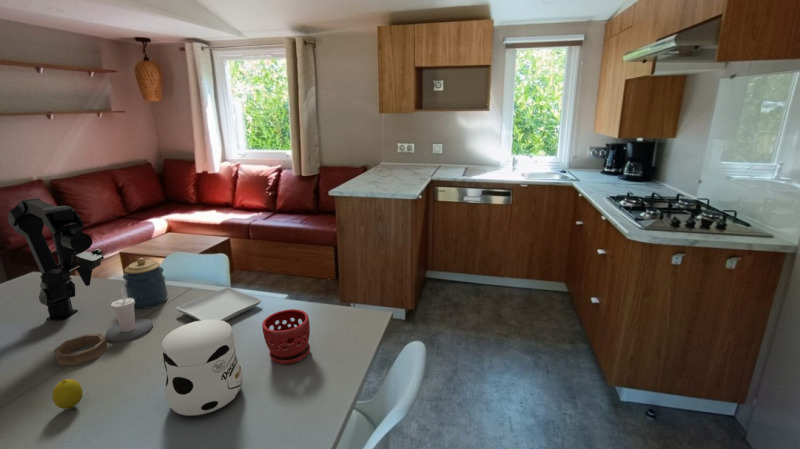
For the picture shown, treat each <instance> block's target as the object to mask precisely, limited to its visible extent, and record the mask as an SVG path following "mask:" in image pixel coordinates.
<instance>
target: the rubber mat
mask: <svg viewBox="0 0 800 449" xmlns="http://www.w3.org/2000/svg"><path fill="white" fill-rule="evenodd" d="M153 327H154V326H153V322H152V320H151V319H148V318H135V328H134V329H133V330H131V331H128V332H123V331H122V330H121V328H120V325H119V323H117V324H115V325H113V326H111V327H109V329H107V331H105V334H104V338H105V339H106V341H108V342H111V343H123V342H129V341H133V340H136V339H138V338H141V337H143V336H145V335H146V334H148V333H149V332H151V330H152V329H153Z"/></svg>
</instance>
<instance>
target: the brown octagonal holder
mask: <svg viewBox="0 0 800 449" xmlns="http://www.w3.org/2000/svg"><path fill="white" fill-rule="evenodd" d="M89 345H91V346H92V345H94V346H93V347H91V348H89V349H85V350H83V351H80V352H77V353H70V352H71V351H73V350H75V349H79V348H81V347H84V346H89ZM108 349H109V347H108V344H107V340H106V337H105V335H104V336H103V333H91V334H90V333H89V334H83V335H80V336H76V337H74V338H71V339H67V340H65V341H64V342H62V343H61V344H60V345H59V346H57V347H55V349H53V353H54V356H55V360H56V361H57V363H58V364H59V367H61V366H63V367H64V366H79V365H80V364H83V363H86V362H88V361H91V360H94V359H97V358H99V357H100V355H102V354H103V353H104V352H106V350H108Z"/></svg>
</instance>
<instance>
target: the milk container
mask: <svg viewBox="0 0 800 449" xmlns="http://www.w3.org/2000/svg"><path fill="white" fill-rule="evenodd" d="M161 347H162V348H161V350H162V357H163V364H164V368H165V373H166V381H165V388H164V391H165V398H166V401H167V404H168V405H169V407H170V409H171V410H172V411H173V412H175V413H176V414H178V415H180V416H184V417H199V416H200V417H201V416H205V415H207V414H211V413H215V412H216V411H218V410H220V409H223V408H225V407H226V406H227V405H228V404H230V403H232V402H233V401H234V400H235V399H236V397H237V396H238V395H239V394H240V391H241V389H242V387H243V381H244V380H243V378H244V376H243V375H244V374H243V369H242V365H241V364H240V361H239V360H238V357H237V353H236V343H235V336H234V332H233V328H232V327H231V325H230V323H229V322H226V321H221V320H216V319H215V320H201V321H199V320H195V321H192V322H189V323H185V324H183V325H180V326H179V327H176V328H175V329H173V330H172V331H170V332H169V333H167V335H165V337H164V338H163V340H162V341H161Z"/></svg>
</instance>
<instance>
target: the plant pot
mask: <svg viewBox="0 0 800 449" xmlns="http://www.w3.org/2000/svg"><path fill="white" fill-rule="evenodd" d="M309 318H310V317H309V315H308V313H307V312H306V311H304V310H301V309H294V308H293V309H291V308H290V309H284V310H280V311H276V312H274V313H272V314H269V316H267V317H266V318H265V319H264V320H263V322H262V324H261V325H262V326H261V327H262V334H263V338H264V339H263V340H264V341H265V344H266V346H267V348H268V350H269V357H270V359H271V360H272V361H273V362H274V363H276V364H280V365H288V364H290V365H291V364H294V363H295V364H296V363H297V362H299V361H302V360H303V359H304V358H306V356H308V354H309V352H310V350H311V344H310V343H309V339H310V334H311V333H310V332H311V330H310V328H311V326H310V319H309ZM292 319H294V320H292ZM299 320H301V322H302V323H301V324H300V323H299ZM277 321H278V323H276V322H277ZM284 321H286V322H285V323H283V322H284ZM289 325H290V326H289ZM295 325H296V327H295ZM271 326H272V327H273V329H270V328H271ZM279 327H280V328H279Z"/></svg>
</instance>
